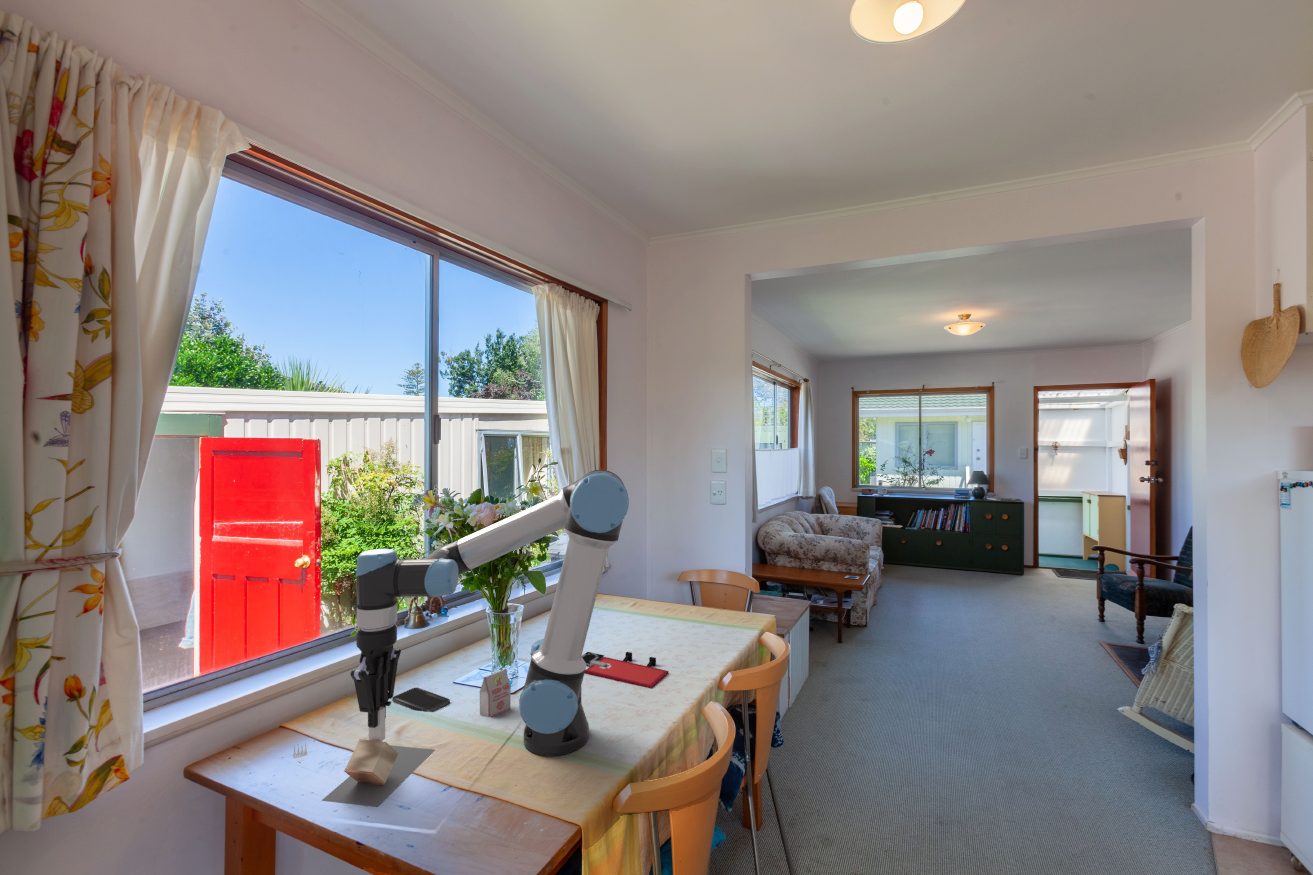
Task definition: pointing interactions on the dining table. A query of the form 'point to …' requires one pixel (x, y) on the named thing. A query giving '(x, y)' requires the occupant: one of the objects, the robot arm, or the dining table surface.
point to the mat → (376, 793)
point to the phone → (421, 700)
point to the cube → (371, 762)
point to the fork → (301, 753)
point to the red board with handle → (624, 670)
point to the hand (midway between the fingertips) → (376, 739)
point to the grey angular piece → (495, 694)
